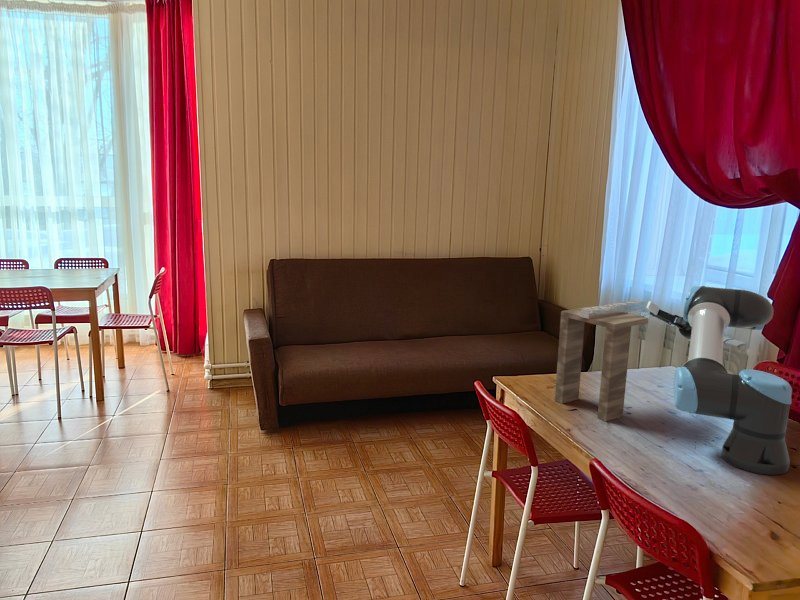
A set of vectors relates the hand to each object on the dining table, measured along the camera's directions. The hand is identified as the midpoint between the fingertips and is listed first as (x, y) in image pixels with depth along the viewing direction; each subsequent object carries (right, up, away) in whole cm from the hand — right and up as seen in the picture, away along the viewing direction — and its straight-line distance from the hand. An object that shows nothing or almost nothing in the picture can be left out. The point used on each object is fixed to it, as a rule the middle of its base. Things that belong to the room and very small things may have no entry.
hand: (666, 308), depth 203 cm
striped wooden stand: (-28, -31, -12) cm, 43 cm away
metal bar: (-23, -1, -15) cm, 28 cm away
